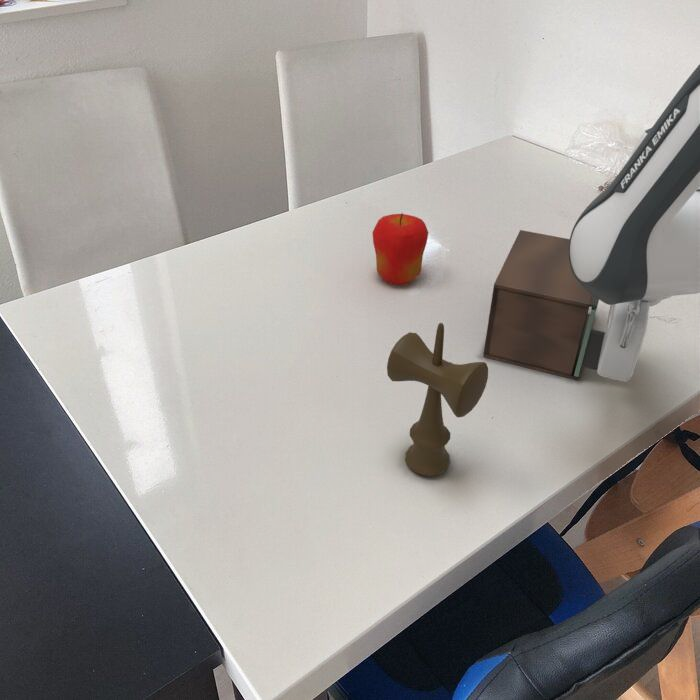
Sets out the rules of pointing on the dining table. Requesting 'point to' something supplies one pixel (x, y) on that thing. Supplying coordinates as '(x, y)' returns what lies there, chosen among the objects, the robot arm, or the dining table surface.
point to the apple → (399, 247)
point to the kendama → (435, 396)
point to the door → (590, 346)
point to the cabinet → (538, 307)
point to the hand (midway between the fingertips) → (611, 362)
